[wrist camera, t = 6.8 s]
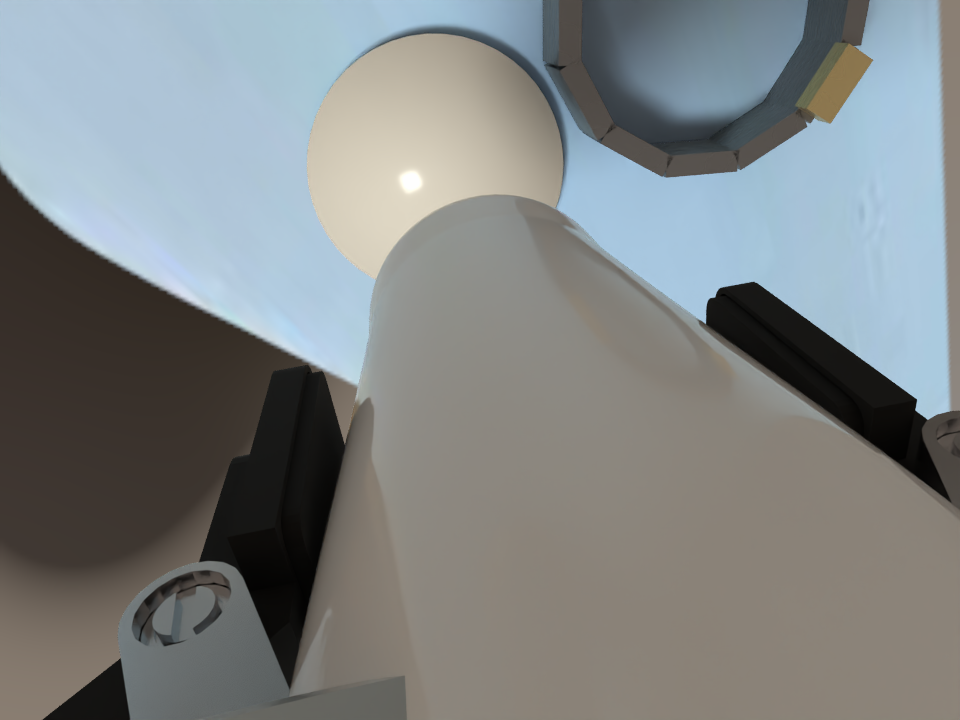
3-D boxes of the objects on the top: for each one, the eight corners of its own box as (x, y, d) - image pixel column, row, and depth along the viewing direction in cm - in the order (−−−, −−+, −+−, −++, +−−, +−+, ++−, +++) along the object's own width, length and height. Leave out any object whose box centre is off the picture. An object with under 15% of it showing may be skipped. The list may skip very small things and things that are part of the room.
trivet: (271, 232, 28) (269, 236, 27) (368, -22, 24) (368, -22, 23) (490, 322, 31) (492, 328, 30) (605, 111, 27) (609, 113, 27)
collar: (485, 79, 26) (499, 89, 23) (643, -257, 22) (684, -296, 19) (721, 207, 30) (759, 229, 27) (893, -61, 26) (959, -69, 23)
